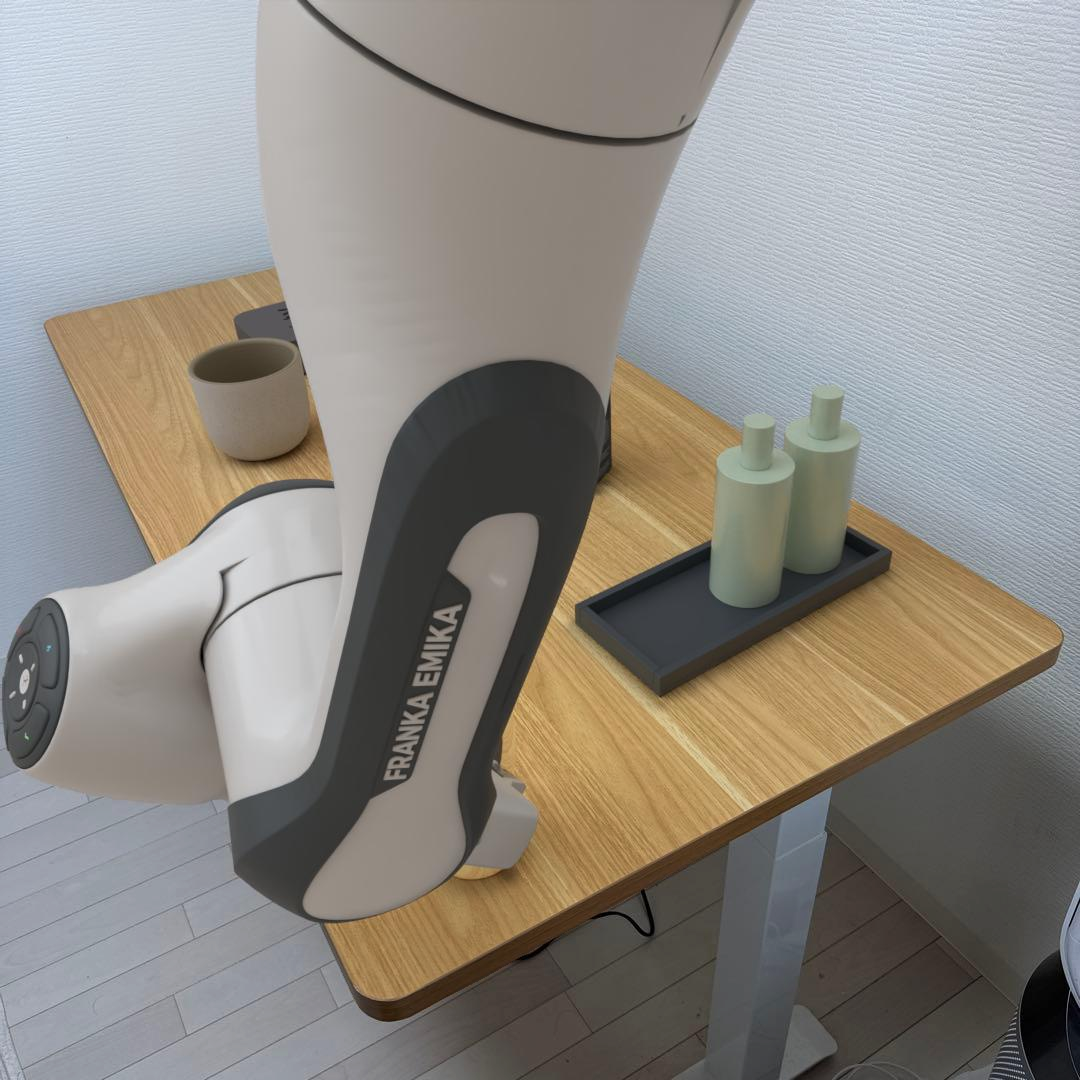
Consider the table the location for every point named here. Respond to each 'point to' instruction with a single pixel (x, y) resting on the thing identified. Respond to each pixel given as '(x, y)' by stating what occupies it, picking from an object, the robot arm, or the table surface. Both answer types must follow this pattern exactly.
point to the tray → (708, 612)
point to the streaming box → (266, 324)
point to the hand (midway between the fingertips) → (471, 754)
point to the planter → (252, 397)
